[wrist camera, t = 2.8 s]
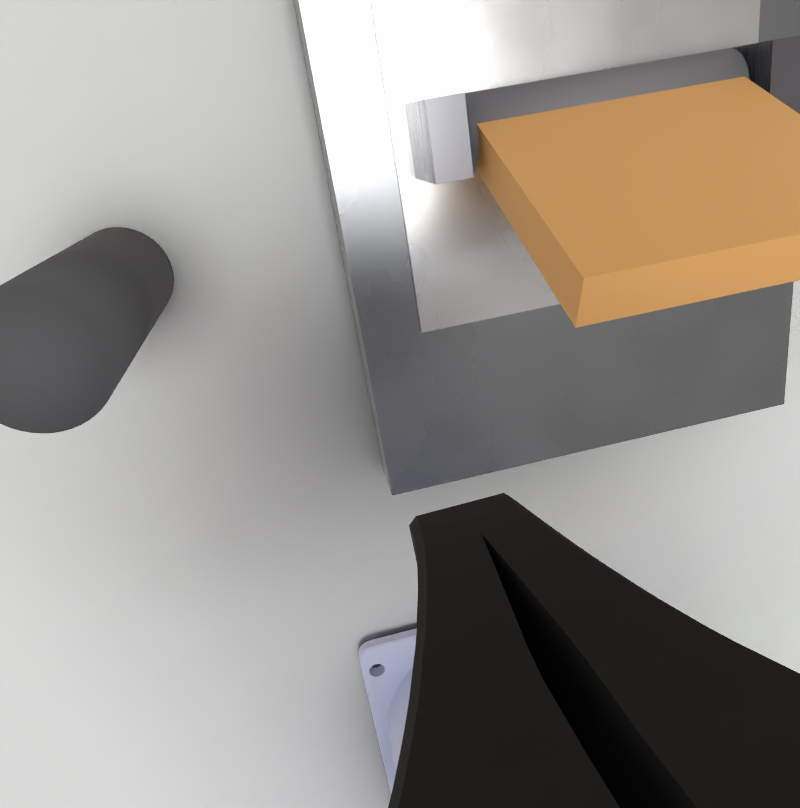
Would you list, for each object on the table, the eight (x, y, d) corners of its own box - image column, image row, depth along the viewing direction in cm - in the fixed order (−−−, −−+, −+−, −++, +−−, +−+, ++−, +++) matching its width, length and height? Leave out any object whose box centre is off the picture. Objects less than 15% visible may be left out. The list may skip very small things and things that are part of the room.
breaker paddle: (698, 108, 16) (900, 271, 12) (453, 152, 16) (567, 342, 11) (717, 37, 15) (949, 188, 11) (452, 82, 14) (580, 263, 10)
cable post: (185, 312, 17) (136, 414, 11) (90, 331, 17) (-15, 447, 11) (157, 219, 16) (87, 272, 10) (57, 237, 16) (-80, 303, 10)
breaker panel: (748, 385, 21) (841, 434, 18) (383, 469, 20) (406, 538, 17) (790, -387, 14) (958, -556, 11) (229, -332, 13) (215, -503, 10)
